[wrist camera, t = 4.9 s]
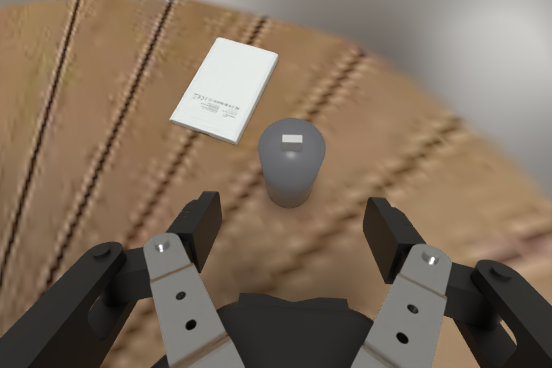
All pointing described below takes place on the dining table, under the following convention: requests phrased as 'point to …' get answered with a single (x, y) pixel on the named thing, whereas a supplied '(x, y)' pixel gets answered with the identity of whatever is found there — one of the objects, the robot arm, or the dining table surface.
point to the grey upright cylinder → (290, 160)
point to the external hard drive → (225, 90)
